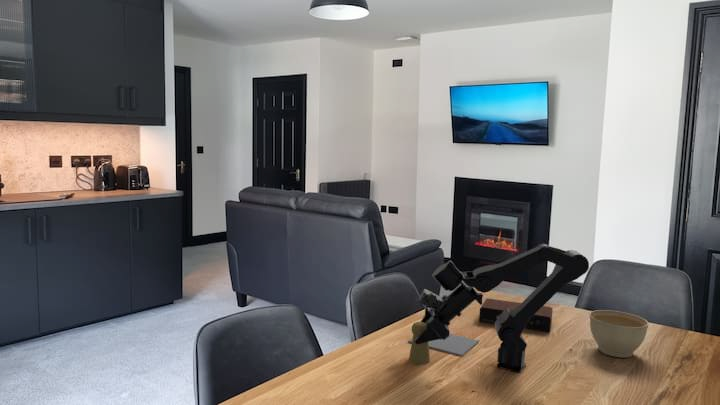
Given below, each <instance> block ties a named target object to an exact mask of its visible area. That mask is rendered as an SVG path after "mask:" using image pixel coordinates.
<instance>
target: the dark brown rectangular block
mask: <svg viewBox="0 0 720 405" xmlns="http://www.w3.org/2000/svg"><path fill="white" fill-rule="evenodd" d="M521 303H522V302H516V301H511V300H509V301H508V300H501V299H494V298H486V299H485V300H484V302H482V305H481V306H480V308H479V318H478V322H479V323H485V324H491V325H495V322H496V320H497V318H496V317H497V316H499V315H500V314H502V312H503V311H504V309H505V308H507V309H508V310H509V311H511V310H513V309H516V308H517V307H518V306H519V305H520V304H521ZM552 320H553V307H551V306H547V305H544V306H542V307H541V308H540V309H539V310H538V311H537V312H536V313H535V314H534V315H533V316H532V317H531V318H530V319H529V320H528V322H527V324H526V326H525V329H524V330H530V331H536V332H542V333H548V334H549V333H550V332H551V329H552Z"/></svg>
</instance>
